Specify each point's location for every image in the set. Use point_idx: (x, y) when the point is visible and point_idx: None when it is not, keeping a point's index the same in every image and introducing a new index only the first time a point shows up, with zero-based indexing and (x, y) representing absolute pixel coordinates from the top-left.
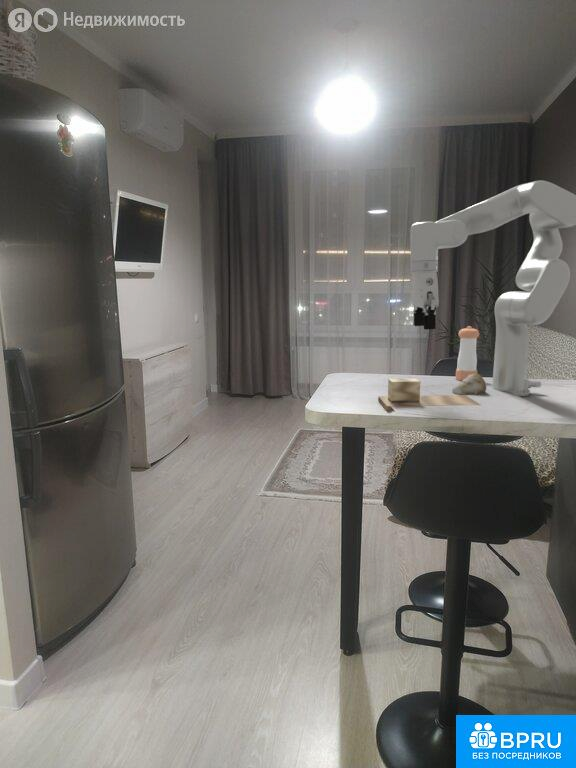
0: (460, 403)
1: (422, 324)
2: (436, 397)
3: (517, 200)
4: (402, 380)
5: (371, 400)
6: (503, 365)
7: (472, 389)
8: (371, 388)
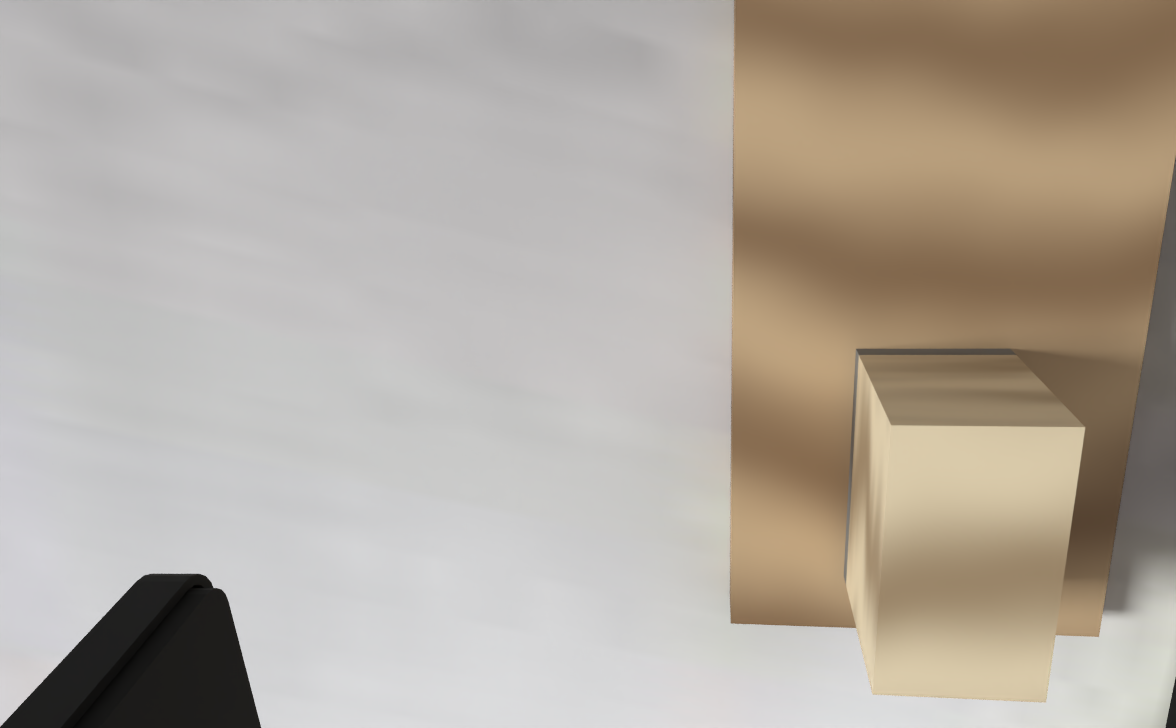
0: None
1: (220, 649)
2: (822, 129)
3: None
4: (989, 590)
5: (693, 638)
6: None
7: None
8: (240, 551)
